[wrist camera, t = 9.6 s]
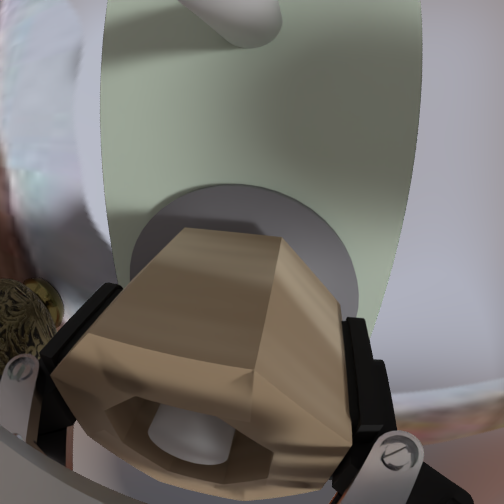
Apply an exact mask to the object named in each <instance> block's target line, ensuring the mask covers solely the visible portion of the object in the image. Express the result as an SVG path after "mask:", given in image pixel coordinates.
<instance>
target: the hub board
mask: <svg viewBox="0 0 504 504" xmlns="http://www.w3.org/2000/svg"><path fill="white" fill-rule="evenodd" d="M421 84H422V18H421V1H420V0H108V2H107V9H106V17H105V26H104V35H103V48H102V63H101V85H100V128H101V153H102V169H103V181H104V192H105V202H106V211H107V218H108V226H109V234H110V240H111V247H112V253H113V259H114V265H115V270H116V276H117V281H118V285H121V286H122V287H123V289H124V288H125V287H126V286H127V285H128V284H129V283H130V282H131V280H132V279H133V278H134V277H135V276H136V275H137V274H138V273H139V272H140V271H141V270H142V269H143V268H144V267H145V266H146V265H147V264H148V263H149V262H150V261H151V260H152V259H153V258H154V257H155V256H156V255H157V254H158V253H159V252H160V251H161V250H162V249H163V248H164V247H165V246H166V245H167V244H168V243H169V242H170V241H171V240H172V239H173V238H174V237H175V236H176V235H177V234H178V233H179V232H181V231H182V230H183V229H184V228H185V227H186V228H196V229H207V230H217V231H227V232H237V233H247V234H257V235H266V236H276V237H282V238H283V239H284V240H285V241H286V242H287V243H288V245H289V246H290V247H291V248H292V249H293V250H294V251H295V252H296V254H297V255H298V256H299V257H300V258H301V259H302V260H303V262H304V263H305V264H306V265H307V266H308V267H309V268H310V270H311V271H312V272H313V273H314V274H315V275H316V277H317V278H318V279H319V280H320V281H321V282H322V283H323V285H324V286H325V287H326V288H327V289H328V290H329V292H330V293H331V294H332V295H333V296H334V298H335V299H336V300H337V301H338V302H339V303H340V307H341V314H342V321H346V318H347V317H356V318H364V319H365V321H366V326H367V330H368V335H369V339H370V337H371V334H372V331H373V328H374V325H375V322H376V319H377V316H378V313H379V310H380V307H381V304H382V300H383V297H384V294H385V291H386V287H387V284H388V280H389V277H390V273H391V269H392V265H393V262H394V258H395V254H396V250H397V246H398V242H399V238H400V233H401V229H402V224H403V220H404V215H405V210H406V205H407V200H408V194H409V188H410V183H411V178H412V171H413V165H414V158H415V150H416V143H417V134H418V125H419V113H420V101H421ZM234 432H235V428H233V427H232V426H230V425H229V424H227V423H226V422H224V421H223V420H221V419H220V418H218V417H217V416H212V415H207V414H203V413H198V412H194V411H189V410H185V409H181V408H177V407H173V406H169V405H165V404H162V403H161V404H160V406H159V408H158V410H157V412H156V414H155V417H154V419H153V421H152V423H151V425H150V427H149V429H148V435H149V437H150V439H151V440H152V441H153V442H154V443H155V444H156V445H157V446H158V447H159V448H161V449H162V450H164V451H165V452H167V453H169V454H171V455H173V456H175V457H177V458H180V459H182V460H185V461H188V462H192V463H197V464H204V465H216V464H221V463H223V462H225V461H226V460H227V459H228V456H229V452H230V448H231V444H232V440H233V436H234Z"/></svg>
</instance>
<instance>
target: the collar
mask: <svg viewBox="0 0 504 504" xmlns="http://www.w3.org/2000/svg"><path fill="white" fill-rule="evenodd" d="M341 321H342V314H341V307H340V303H339V302H338V301H337V300H336V299H335V298H334V296H333V295H332V294H331V293H330V292H329V290H328V289H327V288H326V287H325V286H324V285H323V283H322V282H321V281H320V280H319V279H318V278H317V277H316V275H315V274H314V273H313V272H312V271H311V270H310V268H309V267H308V266H307V265H306V264H305V263H304V262H303V260H302V259H301V258H300V257H299V256H298V255H297V254H296V252H295V251H294V250H293V249H292V248H291V247H290V246H289V245H288V243H287V242H286V241H285V240H284V239H283V238H282V237H276V236H266V235H257V234H247V233H237V232H227V231H217V230H207V229H196V228H186V227H185V228H184V229H183V230H182V231H181V232H179V233H178V234H177V235H176V236H175V237H174V238H173V239H172V240H171V241H170V242H169V243H168V244H167V245H166V246H165V247H164V248H163V249H162V250H161V251H160V252H159V253H158V254H157V255H156V256H155V257H154V258H153V259H152V260H151V261H150V262H149V263H148V264H147V265H146V266H145V267H144V268H143V269H142V270H141V271H140V272H139V273H138V274H137V275H136V276H135V277H134V278H133V279H132V280H131V282H130V283H129V284H128V285H127V286H126V287H125V288H124V289H123V290H122V291H121V292H120V294H119V295H118V296H117V297H116V298H115V299H114V300H113V301H112V302H111V304H110V305H109V306H108V307H107V308H106V309H105V310H104V311H103V313H102V314H101V315H100V316H99V317H98V318H97V319H96V321H95V322H94V323H93V324H92V325H91V326H90V328H89V329H88V330H87V331H86V332H85V333H84V335H83V336H82V337H81V338H80V339H79V340H78V342H77V343H76V344H75V345H74V346H73V348H72V349H71V350H70V351H69V352H68V354H67V355H66V356H65V357H64V359H63V360H62V361H61V362H60V363H59V365H58V366H57V367H56V368H55V370H54V371H53V372H52V373H51V375H50V376H51V378H52V380H53V382H54V383H55V385H56V387H57V389H58V390H59V392H60V394H61V395H62V397H63V399H64V400H65V402H66V404H67V405H68V407H69V409H70V410H71V412H72V413H73V415H74V416H75V418H76V419H77V421H78V422H79V424H80V425H81V427H82V428H83V430H84V431H85V432H86V434H87V435H88V436H89V437H90V438H92V439H93V440H95V441H96V442H97V443H99V444H100V445H102V446H103V447H104V448H106V449H107V450H109V451H110V452H112V453H113V454H115V455H116V456H118V457H119V458H121V459H122V460H124V461H126V462H127V463H129V464H130V465H132V466H134V467H135V468H137V469H139V470H140V471H142V472H144V473H146V474H147V475H149V476H151V477H153V478H155V479H156V480H158V481H161V482H164V483H167V484H170V485H174V486H178V487H181V488H185V489H189V490H192V491H196V492H201V493H205V494H209V495H214V496H219V497H224V498H229V499H235V500H241V501H248V500H249V501H250V500H260V499H268V498H275V497H283V496H289V495H295V494H301V493H306V492H311V491H316V490H320V489H321V488H322V487H323V486H324V484H325V483H326V482H327V480H328V479H329V478H330V476H331V475H332V474H333V472H334V471H335V469H336V468H337V466H338V465H339V464H340V462H341V461H342V459H343V458H344V456H345V455H346V453H347V452H348V450H349V449H350V447H351V446H352V426H351V418H350V415H349V399H348V385H347V372H346V361H345V350H344V340H343V331H342V322H341ZM161 403H162V404H165V405H169V406H173V407H177V408H181V409H185V410H189V411H194V412H198V413H203V414H207V415H212V416H217V417H218V418H220V419H221V420H223V421H224V422H226V423H227V424H229V425H230V426H232V427H233V428H235V432H234V436H233V440H232V444H231V448H230V452H229V456H228V459H227V460H226V461H225V462H223V463H221V464H216V465H204V464H197V463H192V462H188V461H185V460H182V459H180V458H177V457H175V456H173V455H171V454H169V453H167V452H165V451H164V450H162V449H161V448H159V447H158V446H157V445H156V444H155V443H154V442H153V441H152V440H151V439H150V437H149V435H148V429H149V427H150V425H151V423H152V421H153V419H154V417H155V414H156V412H157V410H158V408H159V406H160V404H161Z"/></svg>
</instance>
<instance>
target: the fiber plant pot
mask: <svg viewBox="0 0 504 504" xmlns="http://www.w3.org/2000/svg"><path fill="white" fill-rule="evenodd" d="M63 317H64V306H63V303H62V300H61V298H60V296H59V295H58V293H57V291H56V290H55V289H54V288H53V287H52V285H51V284H49V283H48V282H47V281H46V280H44V279H42V278H38V277H34V278H28V279H26V280H25V281H24V282H23V284H22V283H20V282H19V281H16V280H13V279H5V278H2V279H0V375H3V372H4V369H5V366H6V364H7V363H8V362H9V361H10V360H11V359H12V358H14V357H15V356H18V355H20V354H31V355H33V356H35V357H36V358H37V359H38V360H39V359H40V358H41V356H40V354H39V352H40V351H41V350H42V349H43V347H44V346H45V345H46V344H47V343H48V342H49V341H50V340H51V339H52V337H53V336H54V335H55V334H56V333H57V330H56V328H58V327H59V326H60V325H61V323H62V320H63Z"/></svg>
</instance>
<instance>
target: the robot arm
mask: <svg viewBox="0 0 504 504" xmlns="http://www.w3.org/2000/svg"><path fill="white" fill-rule="evenodd" d="M122 290H123V287H122V286H121V285H118V284H112V283H105V284H104V285H103V286H102V287H101V288H99V289H98V290H97V291H96V292H95V293H94V294H93V295H92V296H91V298H90V299H89V300H88V301H87V302H86V303H85V304H84V305H83V306H82V307H81V308H80V309H79V310H78V311H77V312H76V313H75V314H74V315H73V316H72V317H71V318H70V319H69V320H68V321H67V322H66V323H65V324H64V326H63V327H62V328H61V329H60V330H59V331H58V332H57V333H56V334H55V335H54V336H53V337H52V339H51V340H50V341H49V342H48V343H47V344H46V345H45V346H44V347H43V349H42V350H41V351H40V352H39V354H40V356H41V358H40V359H39V360H38V359H37V358H36V357H35V356H33V355H31V354H20V355H18V356H15V357H14V358H12V359H11V360H10V361H9V362H8V363H7V364H6V366H5V369H4V372H3V375H0V504H147V503H144V502H141V501H139V500H136V499H133V498H131V497H128V496H125V495H123V494H121V493H118V492H116V491H114V490H111V489H109V488H107V487H104V486H102V485H100V484H98V483H96V482H94V481H92V480H90V479H88V478H86V477H84V476H82V475H80V474H78V473H76V472H74V471H73V428H74V427H73V426H74V423H75V421H76V420H77V419H76V418H75V416H74V415H73V413H72V412H71V410H70V409H69V407H68V405H67V404H66V402H65V400H64V399H63V397H62V395H61V394H60V392H59V390H58V389H57V387H56V385H55V383H54V382H53V380H52V378H51V376H50V375H51V373H52V372H53V371H54V370H55V368H56V367H57V366H58V365H59V363H60V362H61V361H62V360H63V359H64V357H65V356H66V355H67V354H68V352H69V351H70V350H71V349H72V348H73V346H74V345H75V344H76V343H77V342H78V340H79V339H80V338H81V337H82V336H83V335H84V333H85V332H86V331H87V330H88V329H89V328H90V326H91V325H92V324H93V323H94V322H95V321H96V319H97V318H98V317H99V316H100V315H101V314H102V313H103V311H104V310H105V309H106V308H107V307H108V306H109V305H110V304H111V302H112V301H113V300H114V299H115V298H116V297H117V296H118V295H119V294H120V292H121V291H122ZM341 322H342V331H343V340H344V350H345V361H346V372H347V385H348V399H349V415H350V418H351V426H352V446H351V447H350V449H349V450H348V452H347V453H346V455H345V456H344V458H343V459H342V461H341V462H340V464H339V465H338V466H337V468H336V469H335V471H334V472H333V474H332V475H331V476H330V478H329V479H328V480H332V487H333V488H334V489H335V490H336V491H337V492H336V494H335V495H334V497H333V498H332V500H331V501H330V503H329V504H474V501H473V499H472V497H471V495H470V494H469V493H468V492H466V491H465V490H464V489H462V488H461V487H459V486H458V485H456V484H455V483H453V482H452V481H450V480H449V479H447V478H446V477H445V476H443V475H442V474H440V473H439V472H437V471H436V470H435V469H433V468H432V467H430V466H429V465H428V464H426V463H425V462H423V458H424V451H423V447H422V445H421V443H420V441H419V440H418V439H417V438H416V437H415V436H414V435H412V434H410V433H408V432H405V431H397V427H396V420H395V414H394V408H393V403H392V397H391V392H390V387H389V382H388V377H387V372H386V368H385V364H384V361H383V360H374V359H373V355H372V350H371V345H370V340H369V335H368V330H367V326H366V321H365V319H364V318H356V317H347V318H346V321H341Z"/></svg>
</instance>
